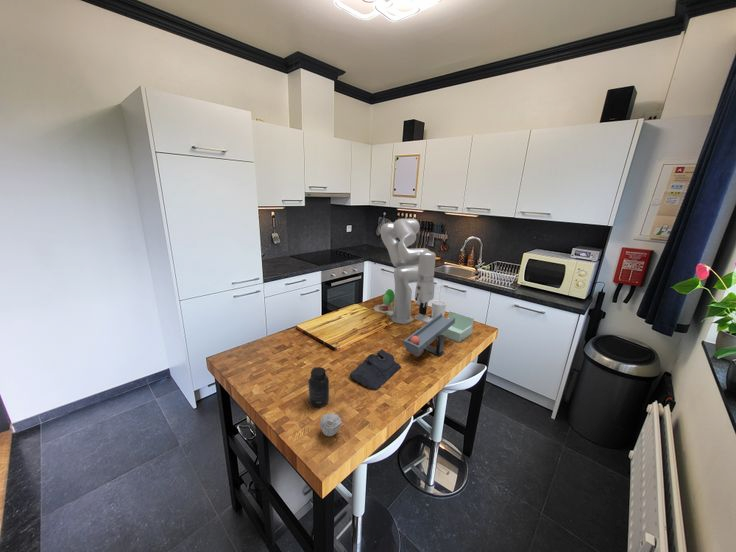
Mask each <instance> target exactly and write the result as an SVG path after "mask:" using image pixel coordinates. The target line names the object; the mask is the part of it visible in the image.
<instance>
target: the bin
mask: <svg viewBox="0 0 736 552" xmlns="http://www.w3.org/2000/svg"><path fill="white" fill-rule="evenodd" d="M446 318H447V319H450V320H451V319H452V318H455V323H454V324H453V325H452V326H451V327H450V328H448V329H447V330H446V331H445V332H444V333H442V334H441V335H444V339H448V340H451V341H453V342H455V343H457V344H458V343H459V344H460V343H462V341H464V340H466V339H467V338H468V337H470V336H472V334H473V329H474V328H473V327H474V322H475V318H474V317H471V316H468V315H465V314H462V313H459V312H456V311H452V310H449V312H448V317H446Z"/></svg>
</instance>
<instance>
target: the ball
mask: <svg viewBox="0 0 736 552" xmlns="http://www.w3.org/2000/svg"><path fill="white" fill-rule="evenodd" d="M410 342H412V343H414V344H416V345H418V344H419V342H420V339H419V338H418V337H417V336H412V337H411V339H410Z"/></svg>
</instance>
